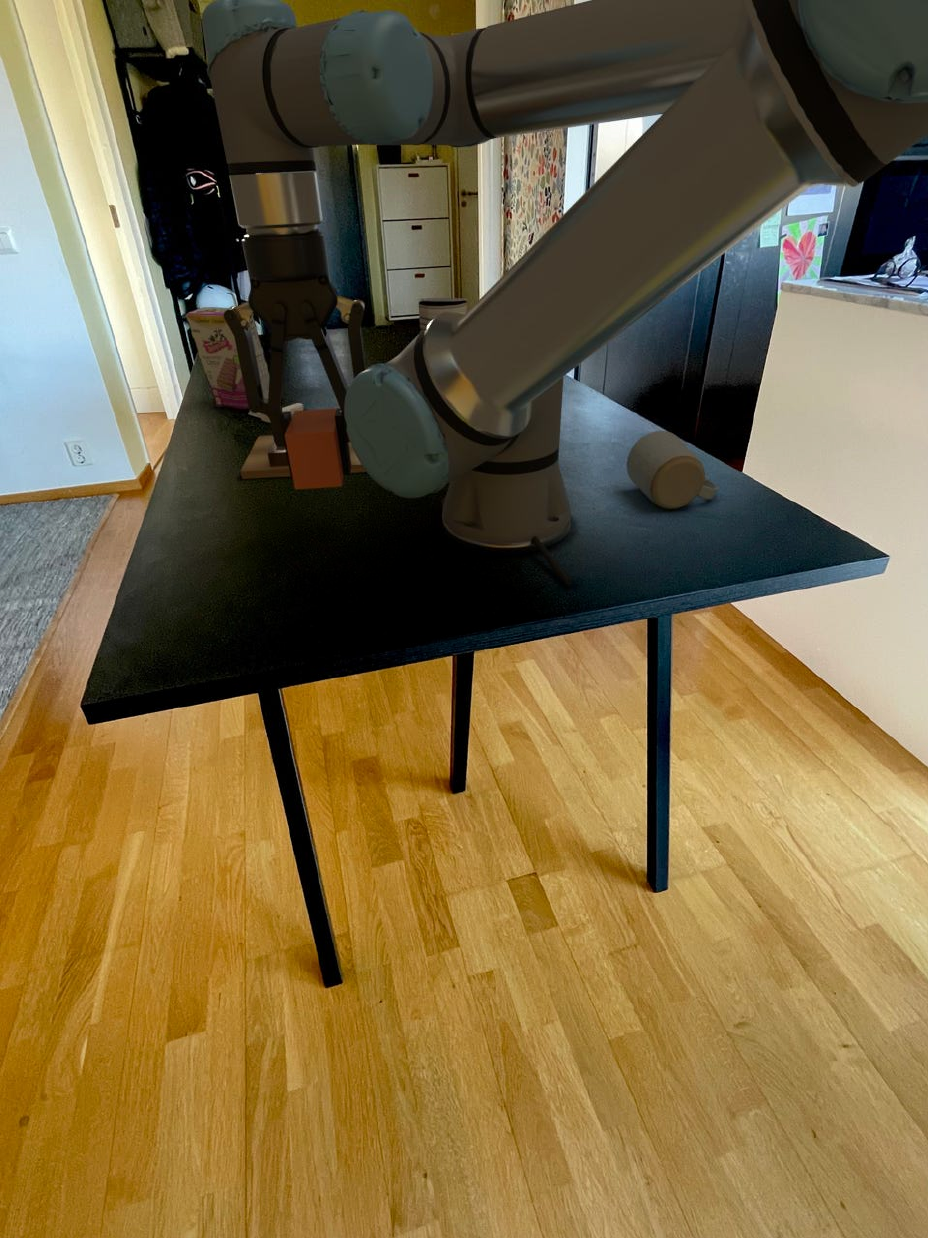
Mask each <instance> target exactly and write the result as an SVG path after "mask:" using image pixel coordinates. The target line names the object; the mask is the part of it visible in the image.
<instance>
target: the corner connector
mask: <svg viewBox="0 0 928 1238" xmlns="http://www.w3.org/2000/svg"><path fill="white" fill-rule="evenodd" d="M282 411H283V412H285V411H291V416H292V417H293V414H294V412H295V411H304V404H303V403H300V402H296V403H293V404H290V405H287V406H283V408H282ZM247 414H248V415H250V416H253V417H257V418H260V420H261V421H262V422H266V423H268V424H269V423H270V419H269V417H268V416H266V415H265V414H262V413H253V412H251V411H250V410H249V412H248V413H247ZM270 424H271V423H270Z"/></svg>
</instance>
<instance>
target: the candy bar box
mask: <svg viewBox="0 0 928 1238" xmlns="http://www.w3.org/2000/svg"><path fill="white" fill-rule="evenodd" d="M229 308H230V307H216V306H203V307H200V308H197V309H195V310H192V311H189V312H187V313H186V314H185V315H184V316H185V318H186V321H187V325H188V328H189V330H190V333H191V335H192V338H193V342H194V345H195V348H196V351H197V353H198V354H197V355H198V357H199V359H200V362H201V365H202V368H203V371H204V374H205V377H206V381H207V382H208V386H209V389H210V392H211V395H212V398H213V402H214V404H215V407H217V408H218V407H219V408H228V409H237V410H239V409H240V410H249V407H248V402H247V397H246V392H245V387H244V382H243V377H242V373H241V368H240V363H239V358H238V353H237V348H236V343H235V338H234V335H233V333H232V332H231V330H230V328H229V326H228V324H227V323H226V321H225V319H224V312H225V311H226V310H227V309H229ZM252 320H253V323H252V325H251V326H250V330H251V333H252V338H253V343H254V348H255V354H256V359H257V364H258V370H259V375H260V380H261V386H262V391H263V396H264V398H265V399H268V393H269V376H270V370H269V367H268V364H267V360H266V356H265V353H264V349H263V346H262V342H261V337H260V335H259V331H258V328H257V324H256V320H255V316H254V312H253V313H252ZM249 411H250V410H249Z"/></svg>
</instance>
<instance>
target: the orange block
mask: <svg viewBox="0 0 928 1238" xmlns="http://www.w3.org/2000/svg"><path fill="white" fill-rule="evenodd" d="M336 409H337V408H325V409H308V410H307V409H306V410H303V411H295V412H294V414H293V415H292V419H291V422H290V424H289V426H288V428H287V430H286V433H285V439H286V445H287V450H288V455H289V460H290V466H291V471H292V476H293V478H292V481H293V487H294V490H309V489H325V488H326V489H327V488H341V487H343V483H344V478H345V475H343V469H342V462H341V455H340V448H339V441H338V434H337V427H336V422H335V412H336Z"/></svg>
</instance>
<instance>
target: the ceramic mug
mask: <svg viewBox="0 0 928 1238" xmlns="http://www.w3.org/2000/svg"><path fill="white" fill-rule="evenodd" d="M626 471H627V475H628V477H629V479H630V480H631V482H632V483H634V485H635V486H636V487H637V488H638V489H639V490H640V491H641V492H642V493H643V494H644V495H645V496H646V497H647V499H649V500H650V501H651V502H652V503H653V504H654V505H656V506H658V507H660V508H663V509H669V510H670V509H671V510H673V509H679V508H682V507H684V506H686V505H689V504H690V503H691V502H693V501H694V499H696V498H697V497H698V498H700V499H704V500H706V501H707V500H708V501H709V500H712V499H713V498H714V497H715V495H716V494H717V492H718V490H719V487H718V486H717V485H716V484H715V483H714V482H713V481H711V480H710V479H709V478H707V477H706V472H705V468H704V466H703V464H702V462H701V460H700V459H699V457H698V456H697V455H696V454H695V453H694V451H692V450H691V449H690V448H689V447H688V446H687V445H686V444H685V443H684V442H683V441H682V440H681V439H680V437H678V436H677V435H676V434H675V433H672V432H670V431H668V430H656V431H652V432H649V433H647V434H645V435H643V436H641V437H640V439H638V440H637V441H635V444H634V445H632V447H631V449H630V450H629V452H628V456H627V459H626Z"/></svg>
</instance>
